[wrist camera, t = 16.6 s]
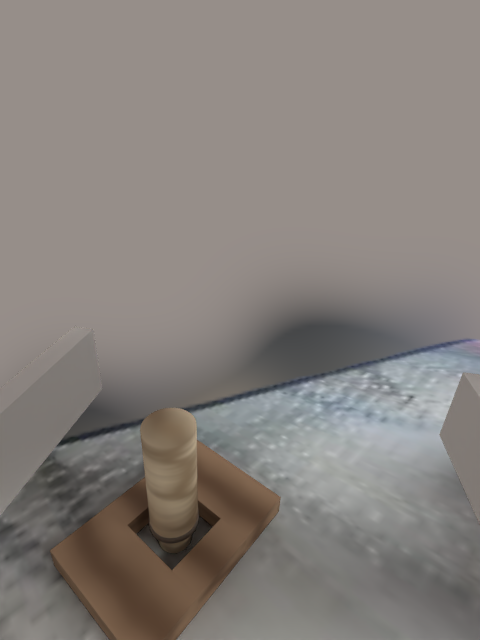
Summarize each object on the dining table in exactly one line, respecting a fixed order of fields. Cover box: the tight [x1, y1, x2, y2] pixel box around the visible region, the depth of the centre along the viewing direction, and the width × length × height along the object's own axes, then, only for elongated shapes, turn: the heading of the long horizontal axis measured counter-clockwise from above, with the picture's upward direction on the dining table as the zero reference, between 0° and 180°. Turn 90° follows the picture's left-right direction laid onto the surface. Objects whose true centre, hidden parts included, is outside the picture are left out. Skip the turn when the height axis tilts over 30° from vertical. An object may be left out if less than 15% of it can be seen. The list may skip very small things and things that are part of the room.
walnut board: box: [50, 440, 281, 640], centre depth 40 cm, size 20×14×2 cm
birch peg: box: [140, 408, 199, 553], centre depth 37 cm, size 5×5×16 cm
